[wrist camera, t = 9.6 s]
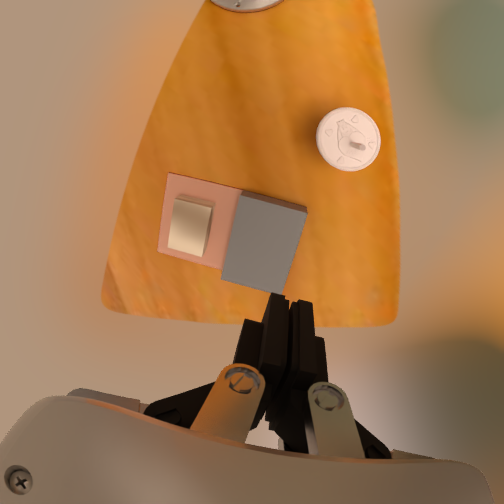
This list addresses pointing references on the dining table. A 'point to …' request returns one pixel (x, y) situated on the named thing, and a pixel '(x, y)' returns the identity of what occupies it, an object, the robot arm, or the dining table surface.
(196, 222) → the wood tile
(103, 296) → the dining table surface
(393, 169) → the dining table surface
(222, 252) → the mat
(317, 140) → the smoothie
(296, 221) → the plate
